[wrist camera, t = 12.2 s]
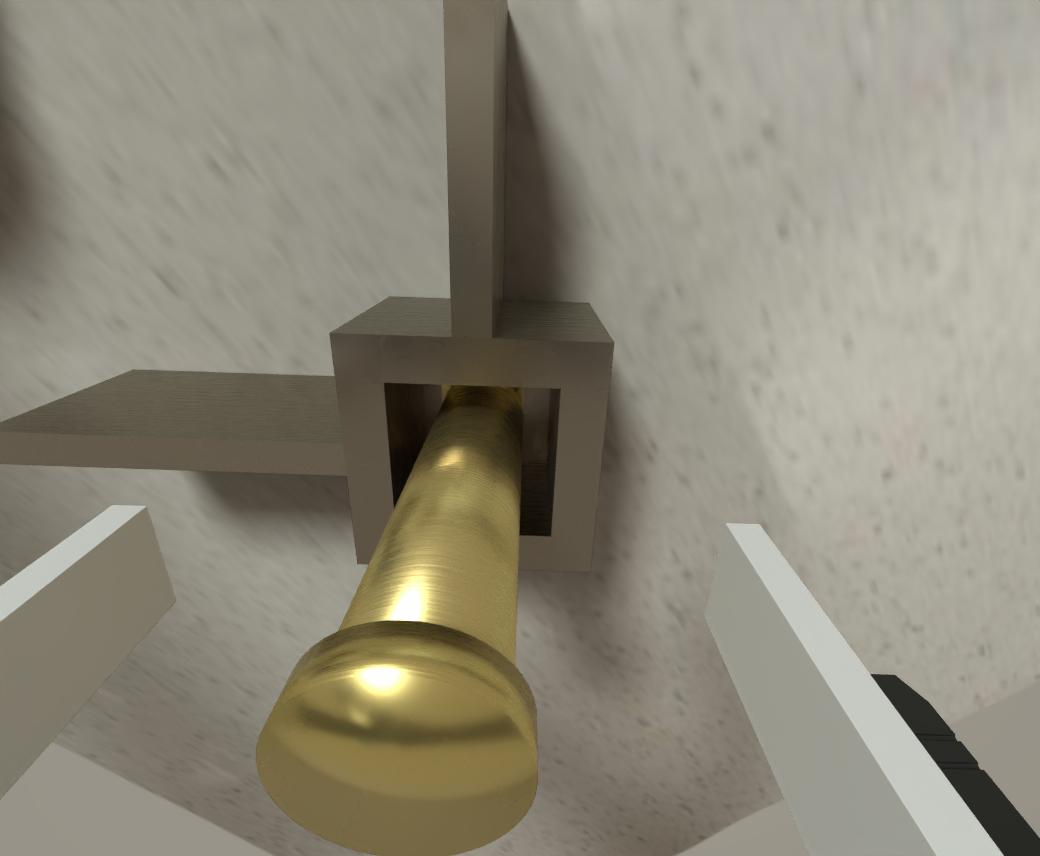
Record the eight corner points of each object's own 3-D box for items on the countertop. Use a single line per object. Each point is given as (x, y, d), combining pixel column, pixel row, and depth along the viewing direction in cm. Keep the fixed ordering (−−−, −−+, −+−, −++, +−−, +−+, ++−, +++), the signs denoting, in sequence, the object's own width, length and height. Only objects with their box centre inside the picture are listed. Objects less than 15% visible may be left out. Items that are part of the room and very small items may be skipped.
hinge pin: (439, 444, 23) (279, 853, 8) (436, 355, 21) (231, 669, 7) (530, 448, 23) (531, 863, 8) (534, 359, 21) (545, 681, 7)
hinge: (159, 464, 25) (30, 552, 18) (25, -8, 18) (-265, -134, 11) (574, 478, 25) (590, 572, 18) (613, 10, 17) (661, -107, 11)
